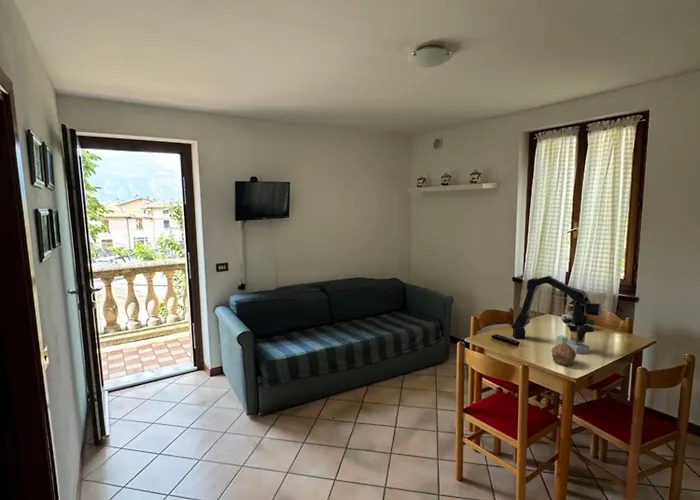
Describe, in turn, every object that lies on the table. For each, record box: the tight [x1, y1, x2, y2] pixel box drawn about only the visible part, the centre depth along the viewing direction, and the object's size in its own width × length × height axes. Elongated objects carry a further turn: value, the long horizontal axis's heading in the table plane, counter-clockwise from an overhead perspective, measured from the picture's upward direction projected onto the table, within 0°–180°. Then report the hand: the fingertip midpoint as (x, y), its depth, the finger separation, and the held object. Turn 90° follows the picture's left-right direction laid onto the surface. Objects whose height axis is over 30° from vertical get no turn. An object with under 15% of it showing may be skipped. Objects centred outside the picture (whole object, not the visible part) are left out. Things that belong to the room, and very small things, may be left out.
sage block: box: [556, 334, 569, 344], centre depth 230 cm, size 4×4×4 cm
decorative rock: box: [550, 343, 577, 366], centre depth 200 cm, size 13×11×10 cm
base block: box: [566, 341, 590, 355], centre depth 217 cm, size 8×8×4 cm
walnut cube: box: [570, 331, 586, 344], centre depth 217 cm, size 5×5×5 cm
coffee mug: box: [561, 311, 579, 330], centre depth 260 cm, size 13×10×10 cm
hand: (577, 339), depth 217 cm, fingers closed on walnut cube, 5 cm apart
